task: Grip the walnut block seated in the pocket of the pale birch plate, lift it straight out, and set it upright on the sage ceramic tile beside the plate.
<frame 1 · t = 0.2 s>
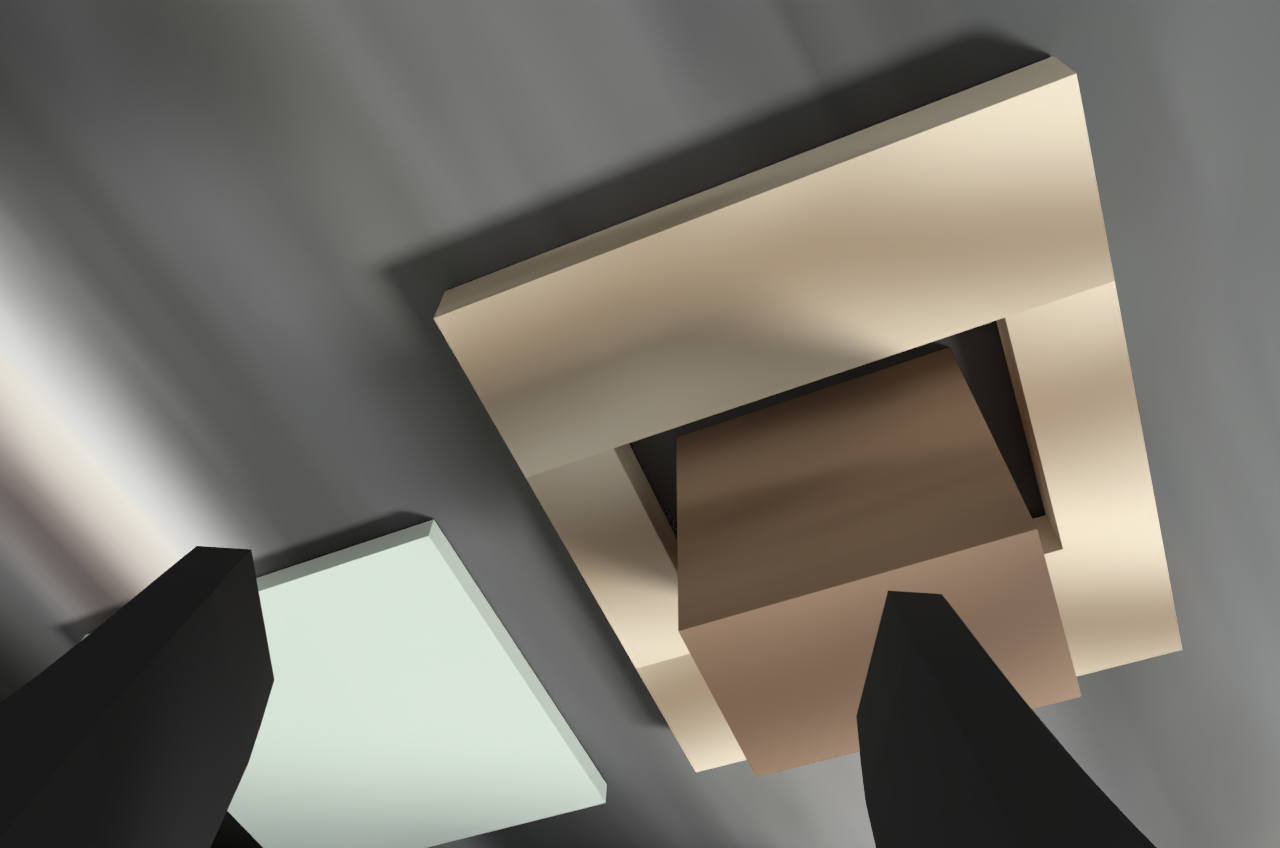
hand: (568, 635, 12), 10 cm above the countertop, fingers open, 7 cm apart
sage tile: (358, 713, 27), on the countertop
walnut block: (856, 552, 20), in the pocket plate
pocket plate: (836, 467, 23), on the countertop
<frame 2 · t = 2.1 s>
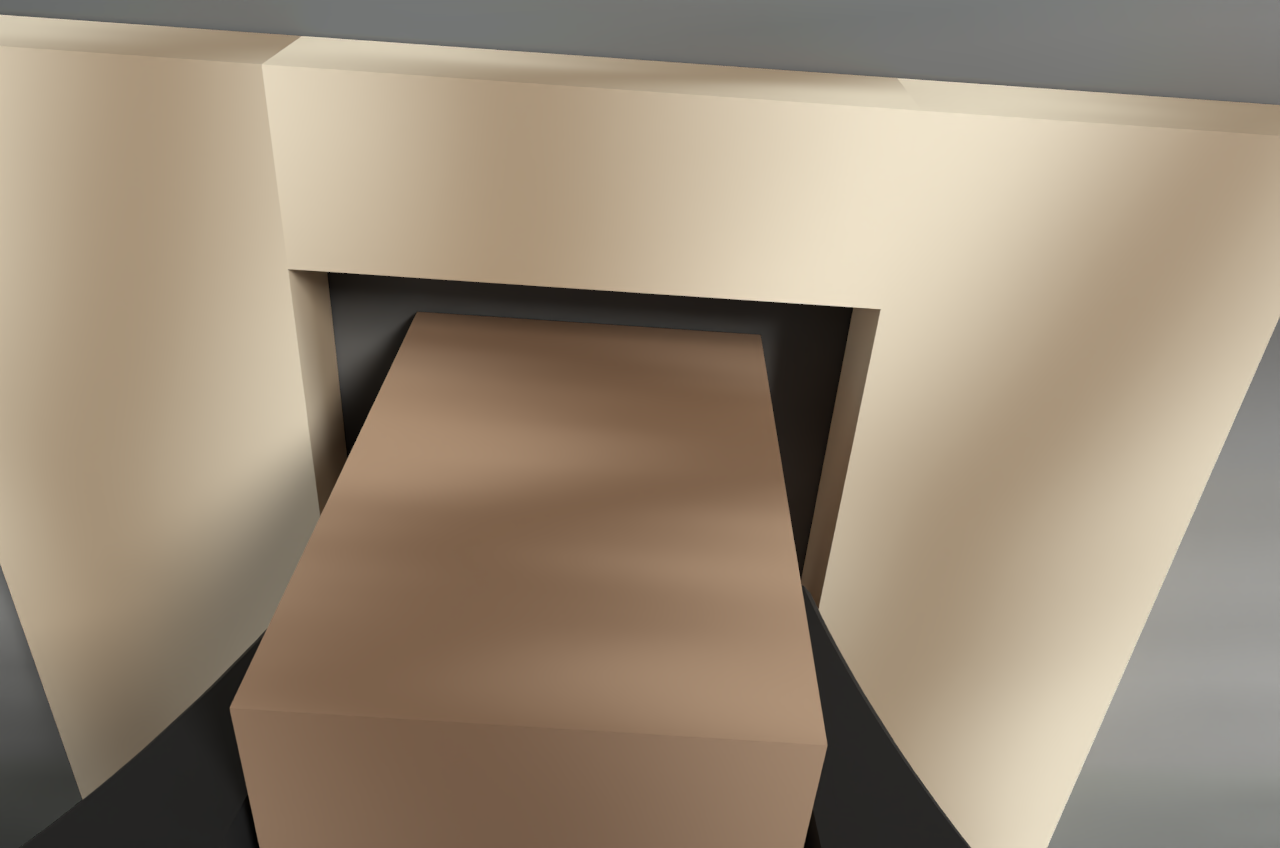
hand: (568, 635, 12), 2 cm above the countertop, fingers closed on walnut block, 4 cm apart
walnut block: (560, 700, 11), in the pocket plate, touching gripper
pocket plate: (581, 528, 14), on the countertop
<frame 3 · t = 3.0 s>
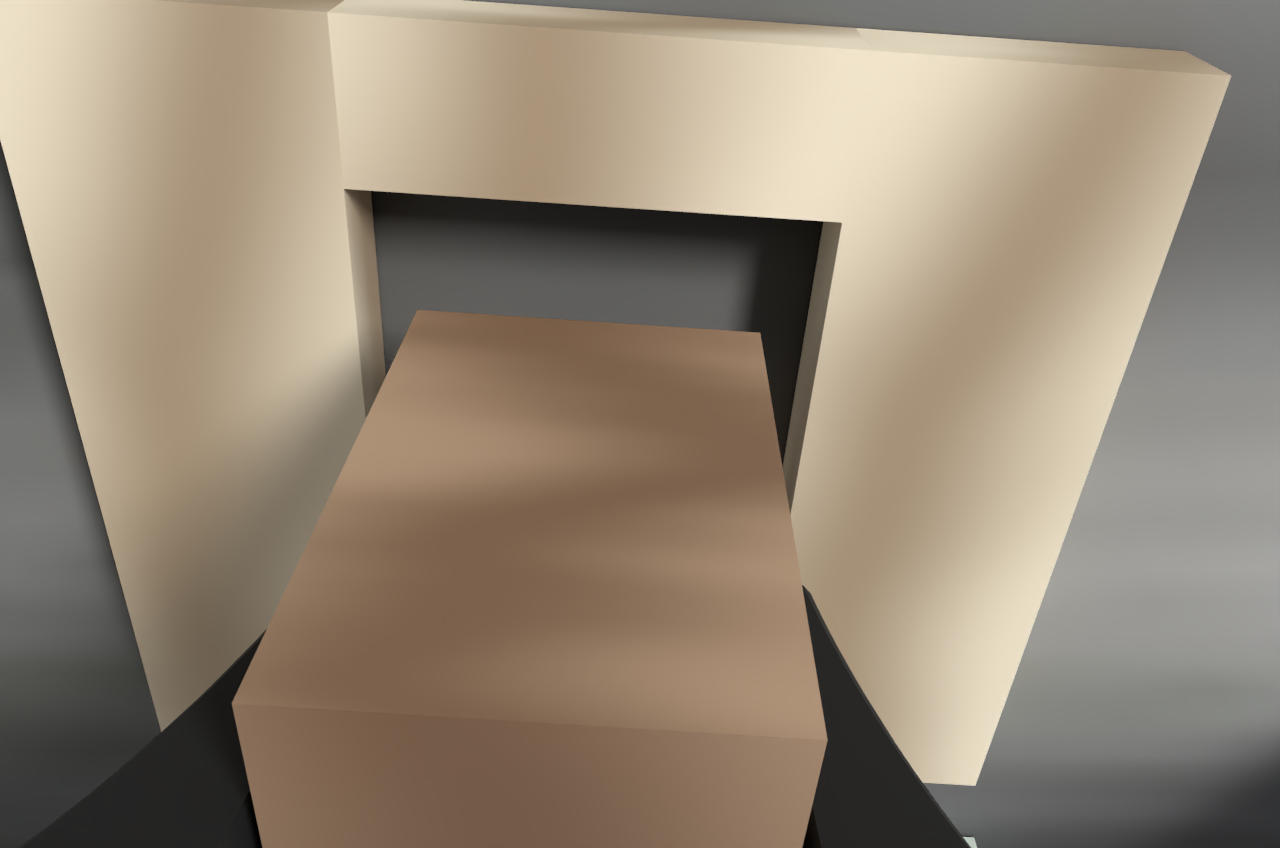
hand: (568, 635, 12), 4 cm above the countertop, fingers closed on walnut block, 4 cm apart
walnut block: (560, 697, 11), point 5 cm above the countertop, touching gripper
pocket plate: (588, 431, 15), on the countertop
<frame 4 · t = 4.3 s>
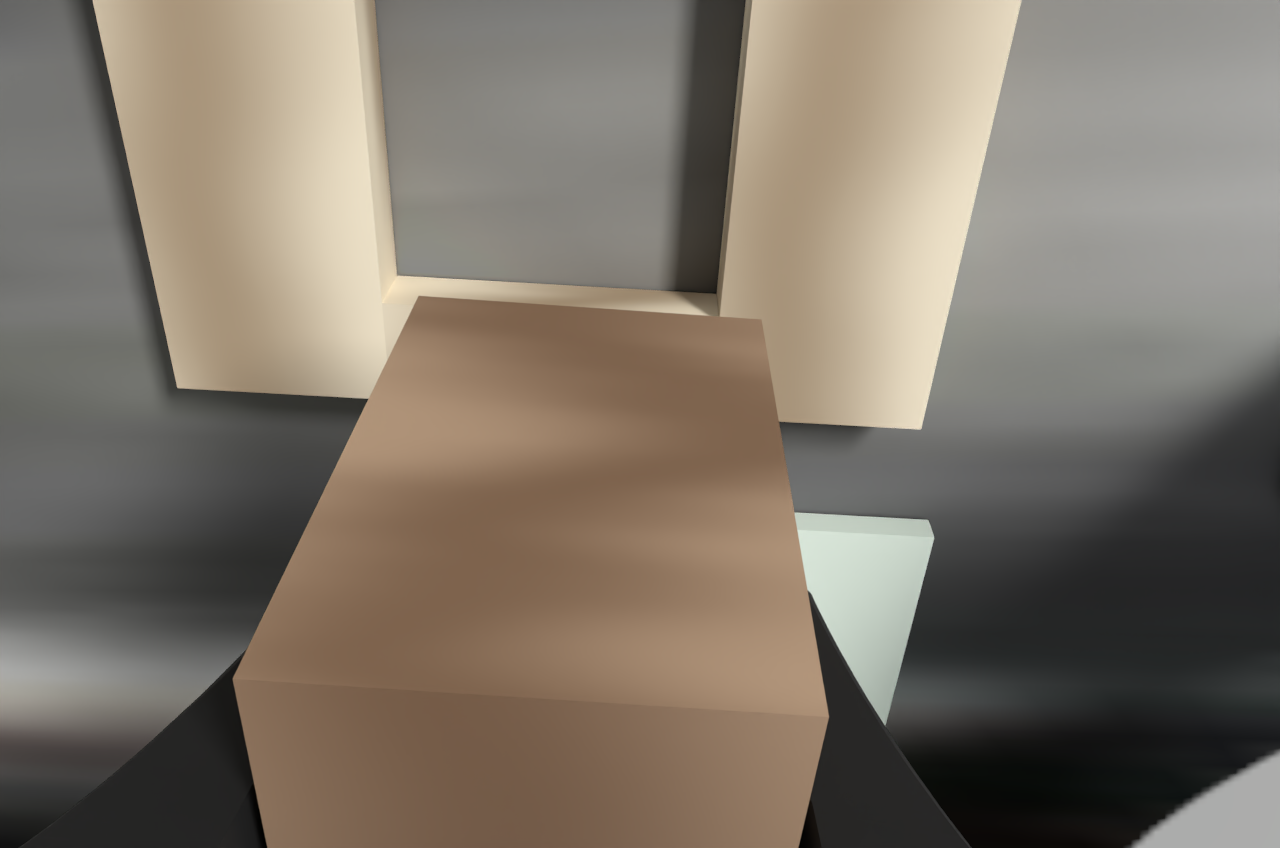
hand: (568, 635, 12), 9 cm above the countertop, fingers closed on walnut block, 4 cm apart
sage tile: (678, 674, 25), on the countertop
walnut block: (561, 682, 11), point 10 cm above the countertop, touching gripper
pocket plate: (558, 64, 17), on the countertop
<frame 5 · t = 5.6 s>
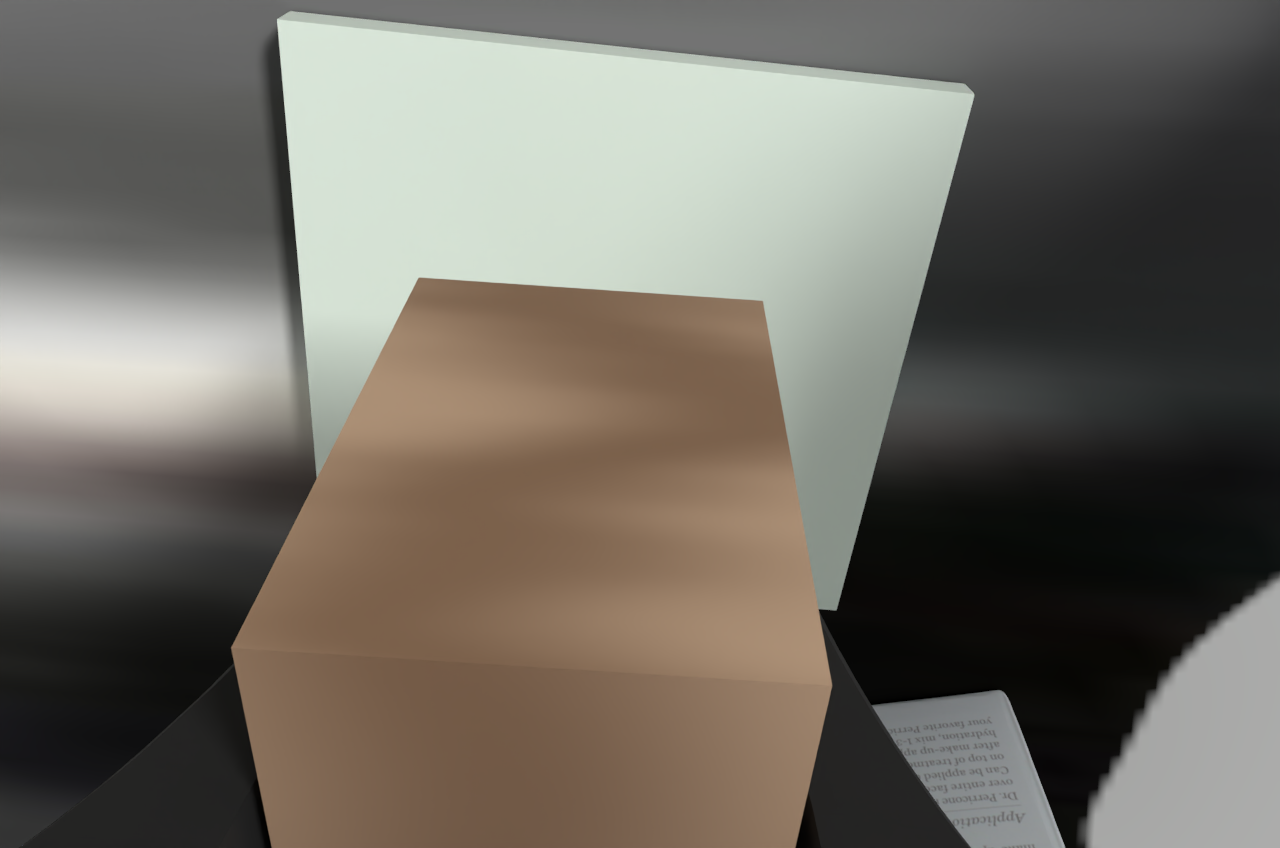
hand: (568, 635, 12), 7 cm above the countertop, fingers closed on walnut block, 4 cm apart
sage tile: (604, 346, 18), on the countertop
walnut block: (562, 663, 11), point 8 cm above the countertop, touching gripper
skincare box: (874, 755, 24), on the countertop
when the fingers open (4 cm above the countertop, at t = 6.8 s): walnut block stays where it is, resting on sage tile.
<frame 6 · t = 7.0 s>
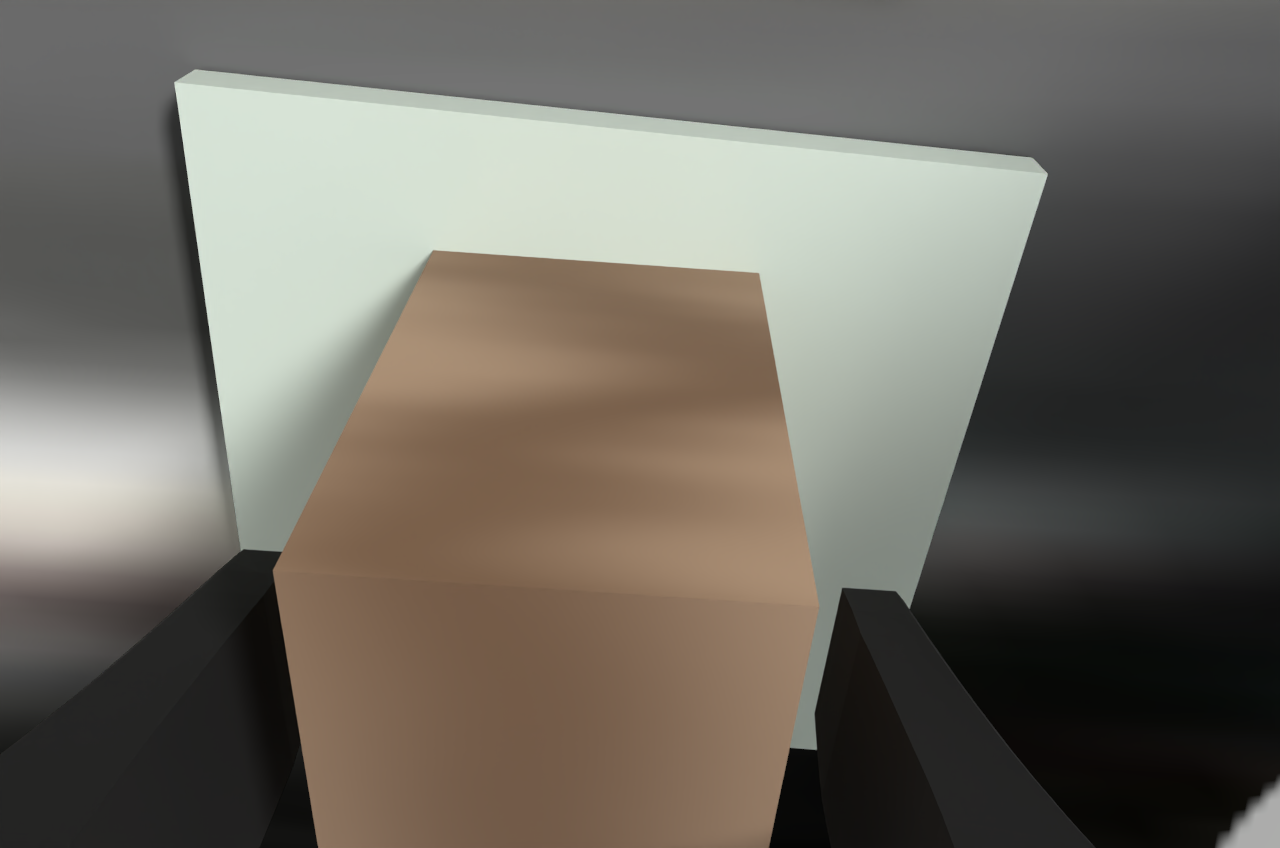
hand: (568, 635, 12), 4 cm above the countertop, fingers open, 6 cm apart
sage tile: (589, 459, 15), on the countertop
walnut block: (569, 612, 12), on the sage tile, point 4 cm above the countertop
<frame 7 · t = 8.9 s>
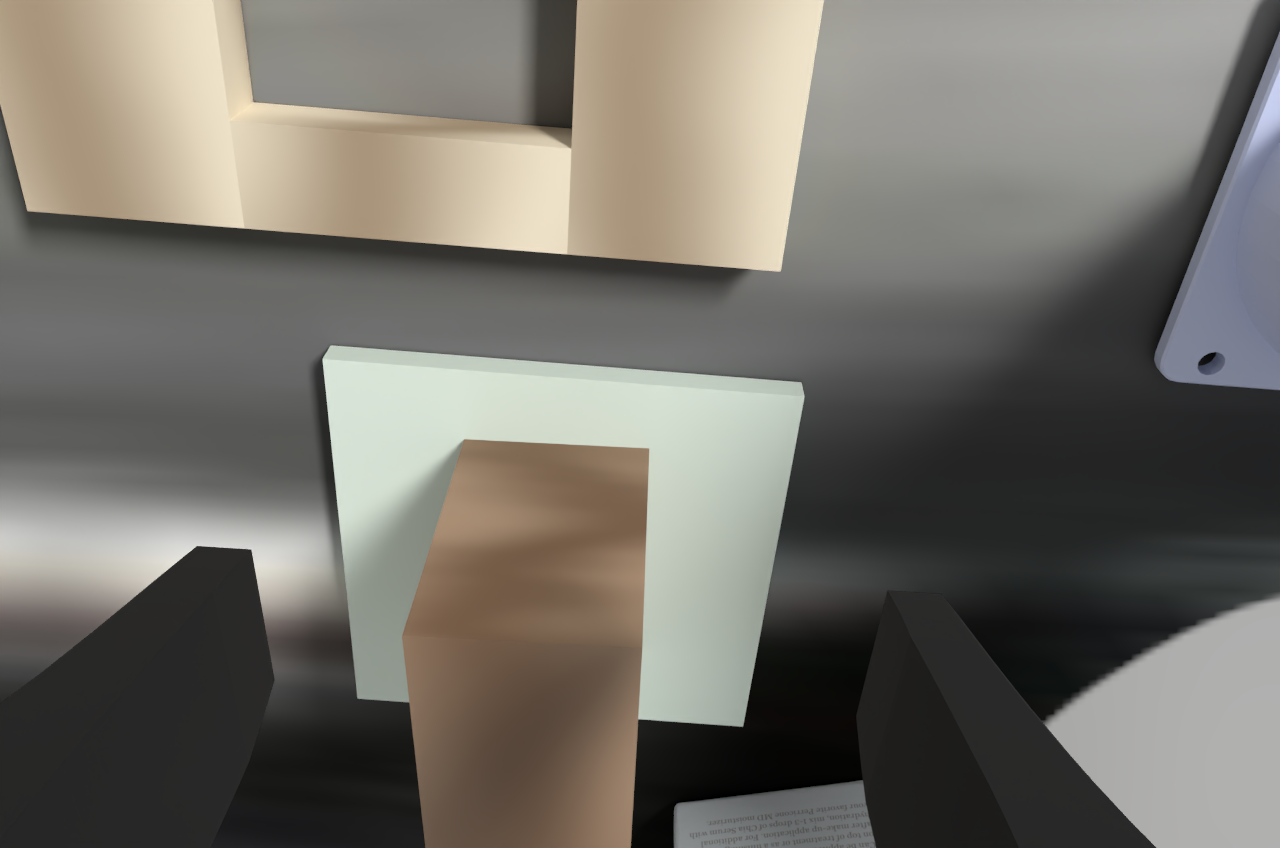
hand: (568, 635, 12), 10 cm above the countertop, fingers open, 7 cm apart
sage tile: (559, 547, 24), on the countertop
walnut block: (543, 644, 21), on the sage tile, point 4 cm above the countertop
skincare box: (787, 826, 30), on the countertop
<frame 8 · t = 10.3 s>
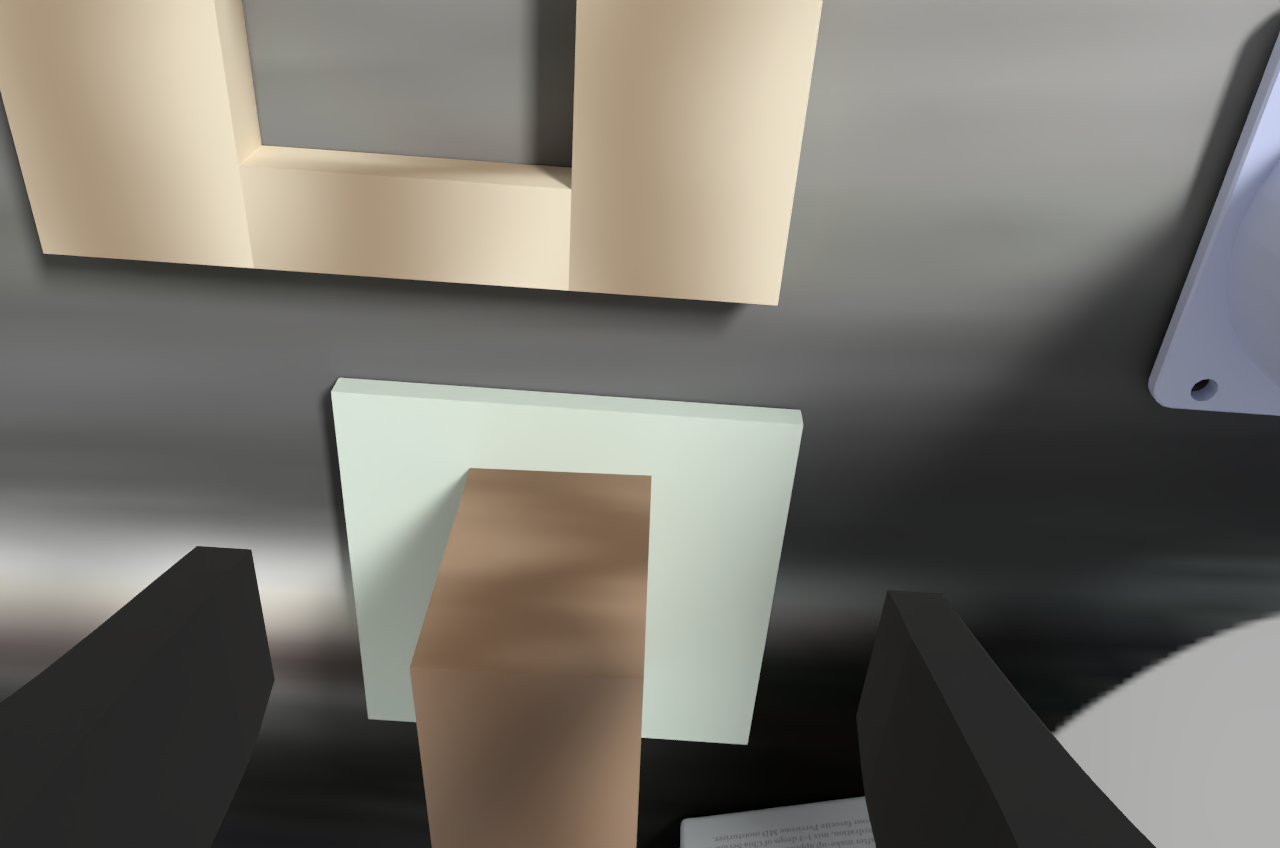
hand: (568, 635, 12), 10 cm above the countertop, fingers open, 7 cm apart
sage tile: (564, 571, 25), on the countertop
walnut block: (548, 670, 22), on the sage tile, point 4 cm above the countertop
skincare box: (793, 840, 30), on the countertop
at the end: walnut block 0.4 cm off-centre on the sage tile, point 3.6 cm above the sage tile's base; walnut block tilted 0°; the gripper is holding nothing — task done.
